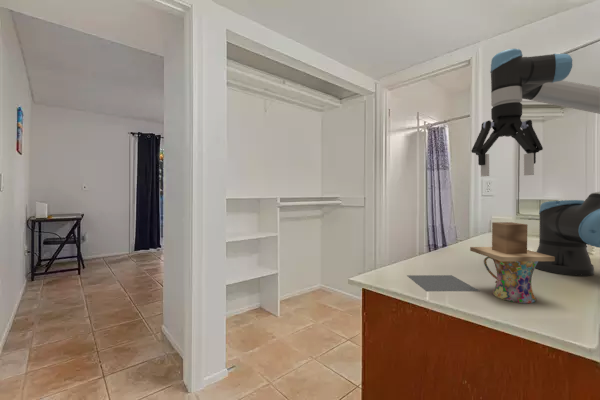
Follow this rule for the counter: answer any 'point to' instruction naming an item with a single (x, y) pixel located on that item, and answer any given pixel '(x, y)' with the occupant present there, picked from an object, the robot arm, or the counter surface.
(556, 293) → the counter surface
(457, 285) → the mat
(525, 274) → the mug
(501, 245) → the lid
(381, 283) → the counter surface
